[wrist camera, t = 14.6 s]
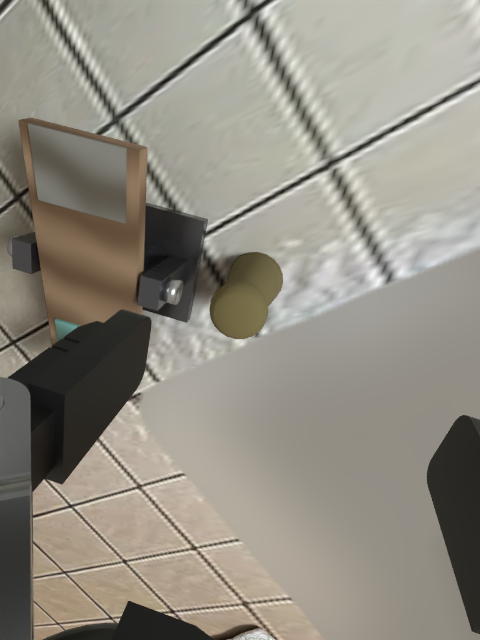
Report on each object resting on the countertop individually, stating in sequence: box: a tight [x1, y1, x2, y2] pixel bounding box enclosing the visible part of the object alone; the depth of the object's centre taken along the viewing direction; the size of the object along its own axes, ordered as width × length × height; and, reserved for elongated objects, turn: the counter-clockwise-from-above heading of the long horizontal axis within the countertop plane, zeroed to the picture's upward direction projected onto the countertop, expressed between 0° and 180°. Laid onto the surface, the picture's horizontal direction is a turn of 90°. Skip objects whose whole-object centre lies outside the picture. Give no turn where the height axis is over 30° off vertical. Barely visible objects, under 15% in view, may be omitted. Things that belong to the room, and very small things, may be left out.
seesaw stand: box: [7, 203, 208, 322], centre depth 40 cm, size 12×17×9 cm
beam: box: [19, 118, 147, 345], centre depth 37 cm, size 25×10×2 cm, turn 168°
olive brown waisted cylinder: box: [210, 252, 283, 339], centre depth 37 cm, size 6×6×11 cm
